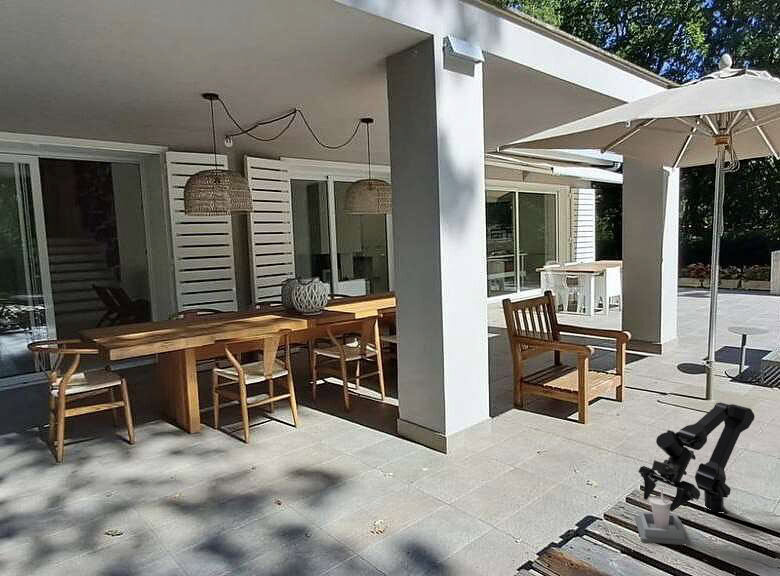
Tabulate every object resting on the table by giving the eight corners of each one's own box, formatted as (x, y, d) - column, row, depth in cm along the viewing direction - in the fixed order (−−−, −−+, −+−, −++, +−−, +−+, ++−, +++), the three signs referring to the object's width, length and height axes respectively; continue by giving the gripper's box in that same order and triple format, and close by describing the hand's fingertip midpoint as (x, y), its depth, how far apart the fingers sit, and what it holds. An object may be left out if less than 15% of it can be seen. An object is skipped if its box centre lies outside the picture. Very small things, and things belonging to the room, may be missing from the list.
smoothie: (670, 536, 168) (668, 494, 167) (648, 530, 172) (646, 489, 171) (674, 526, 173) (672, 485, 172) (653, 521, 177) (651, 481, 176)
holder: (634, 518, 181) (634, 509, 181) (680, 522, 177) (679, 512, 177) (641, 541, 168) (641, 531, 168) (690, 545, 164) (690, 534, 163)
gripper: (640, 442, 180) (620, 482, 176) (693, 460, 164) (672, 504, 160) (656, 459, 185) (636, 498, 180) (709, 477, 168) (689, 521, 164)
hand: (657, 504), depth 171 cm, fingers open, 9 cm apart
